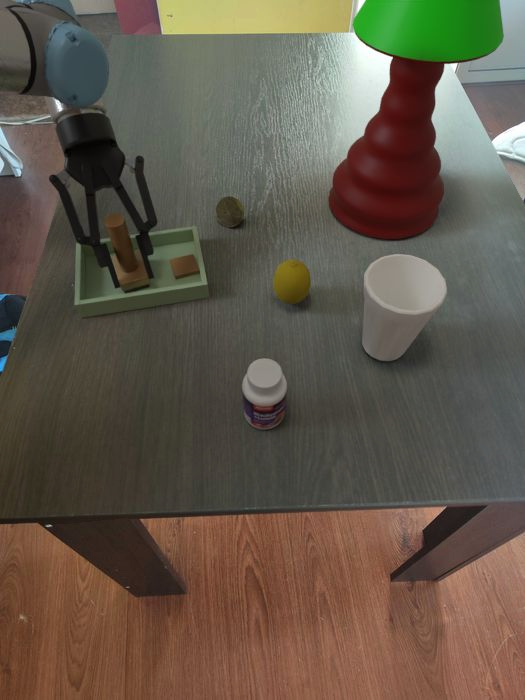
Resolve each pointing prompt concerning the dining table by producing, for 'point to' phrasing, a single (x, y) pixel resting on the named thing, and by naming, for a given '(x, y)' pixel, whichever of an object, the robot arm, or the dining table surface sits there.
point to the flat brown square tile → (184, 266)
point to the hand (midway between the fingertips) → (134, 282)
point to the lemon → (292, 281)
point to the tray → (103, 298)
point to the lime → (229, 211)
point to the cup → (398, 303)
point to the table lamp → (408, 111)
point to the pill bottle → (264, 394)
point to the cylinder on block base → (126, 256)
